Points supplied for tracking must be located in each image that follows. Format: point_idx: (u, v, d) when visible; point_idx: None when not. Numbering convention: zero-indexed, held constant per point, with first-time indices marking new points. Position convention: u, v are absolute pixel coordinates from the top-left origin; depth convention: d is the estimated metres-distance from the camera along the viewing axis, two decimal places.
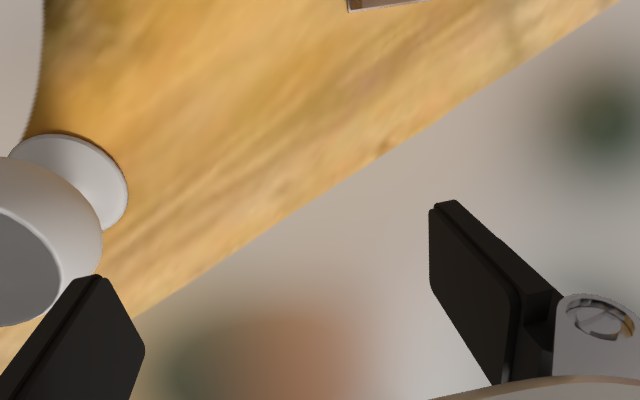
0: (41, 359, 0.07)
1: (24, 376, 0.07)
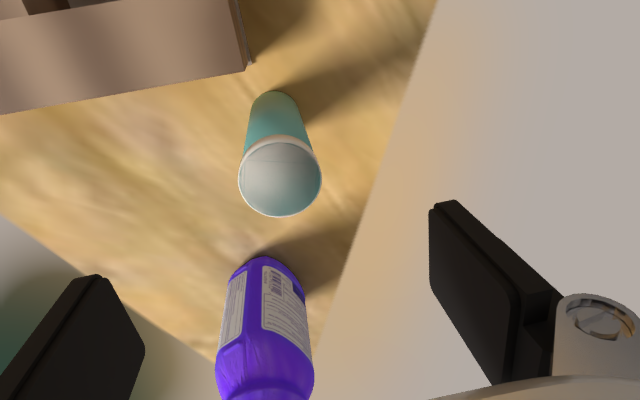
0: (41, 359, 0.07)
1: (23, 376, 0.07)
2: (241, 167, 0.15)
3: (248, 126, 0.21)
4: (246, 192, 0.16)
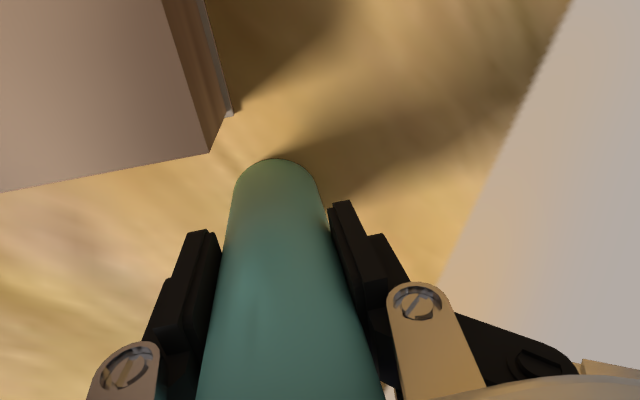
0: (191, 288, 0.08)
1: (184, 298, 0.08)
2: None
3: (221, 263, 0.10)
4: None
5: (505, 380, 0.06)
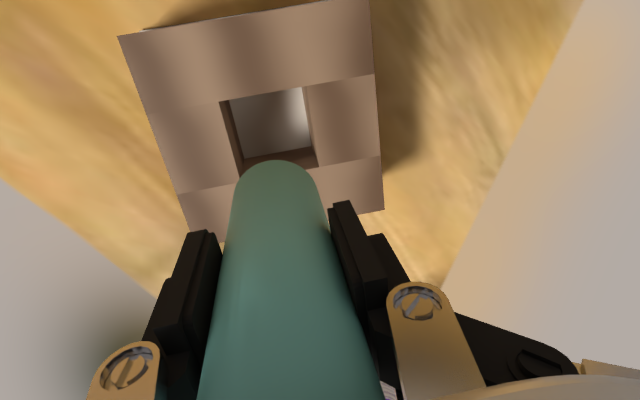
0: (191, 288, 0.08)
1: (184, 298, 0.08)
2: None
3: (221, 264, 0.10)
4: None
5: (505, 380, 0.06)
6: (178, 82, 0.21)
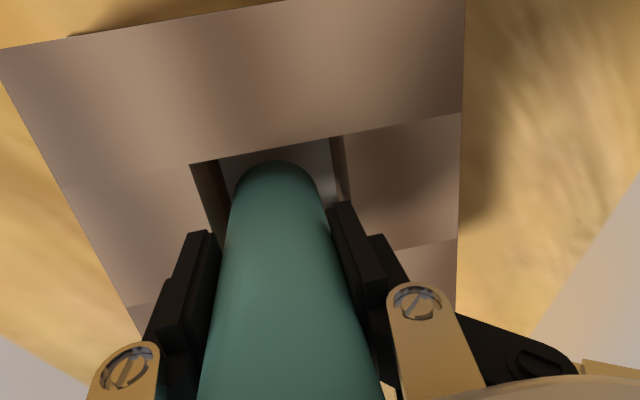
0: (191, 288, 0.08)
1: (184, 299, 0.08)
2: None
3: (221, 264, 0.10)
4: None
5: (505, 380, 0.06)
6: (113, 134, 0.11)
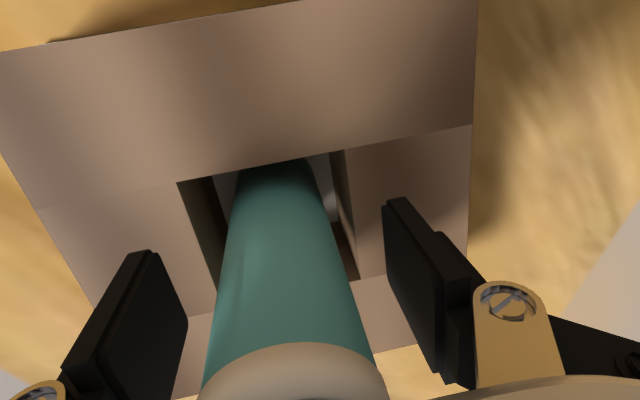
0: (115, 318, 0.08)
1: (103, 331, 0.07)
2: None
3: (228, 233, 0.11)
4: None
5: (609, 375, 0.06)
6: (92, 150, 0.10)
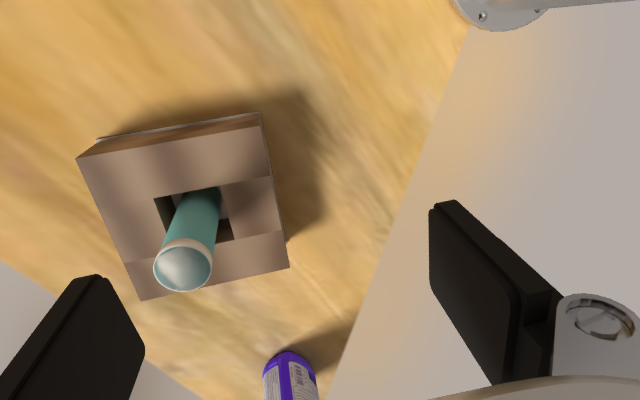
0: (41, 359, 0.07)
1: (23, 376, 0.07)
2: (155, 262, 0.23)
3: None
4: (159, 277, 0.24)
5: None
6: (121, 186, 0.28)
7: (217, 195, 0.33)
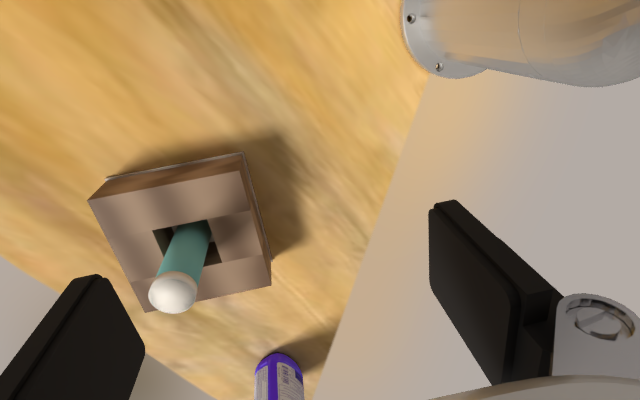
0: (41, 359, 0.07)
1: (23, 376, 0.07)
2: (149, 291, 0.29)
3: (169, 246, 0.35)
4: (153, 302, 0.30)
5: None
6: (125, 221, 0.34)
7: (208, 223, 0.39)
